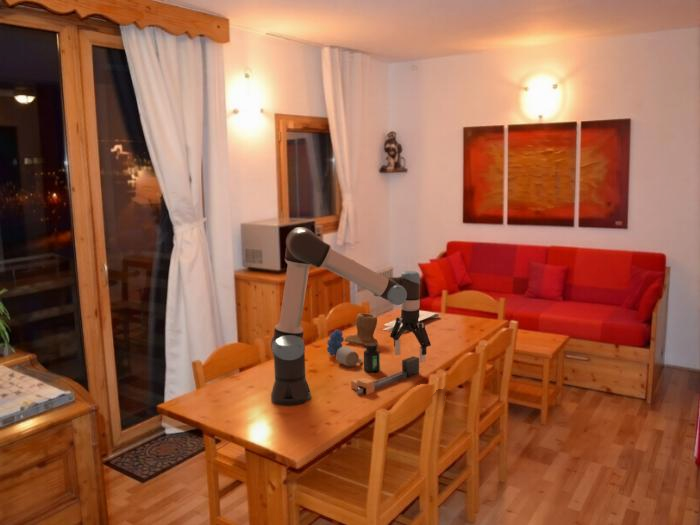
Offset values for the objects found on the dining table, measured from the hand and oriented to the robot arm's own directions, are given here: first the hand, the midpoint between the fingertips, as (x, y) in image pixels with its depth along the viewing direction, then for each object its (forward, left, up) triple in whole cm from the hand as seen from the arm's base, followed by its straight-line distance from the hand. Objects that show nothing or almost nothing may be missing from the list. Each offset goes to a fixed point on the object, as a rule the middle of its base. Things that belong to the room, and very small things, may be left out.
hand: (409, 358), depth 251 cm
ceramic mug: (-7, +29, -8) cm, 31 cm away
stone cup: (+19, +47, -8) cm, 52 cm away
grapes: (-3, +44, -8) cm, 45 cm away
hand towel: (+63, +54, -8) cm, 83 cm away
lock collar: (-26, +2, -7) cm, 27 cm away
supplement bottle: (-7, +15, -8) cm, 19 cm away
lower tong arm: (-11, -1, -7) cm, 14 cm away
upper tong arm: (-13, 0, -7) cm, 15 cm away
